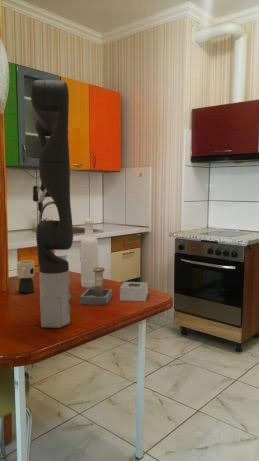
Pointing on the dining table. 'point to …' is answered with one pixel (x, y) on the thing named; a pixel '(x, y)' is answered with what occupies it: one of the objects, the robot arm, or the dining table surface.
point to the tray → (90, 298)
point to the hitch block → (134, 291)
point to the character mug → (25, 275)
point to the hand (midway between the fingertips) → (51, 212)
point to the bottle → (88, 255)
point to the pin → (98, 281)
